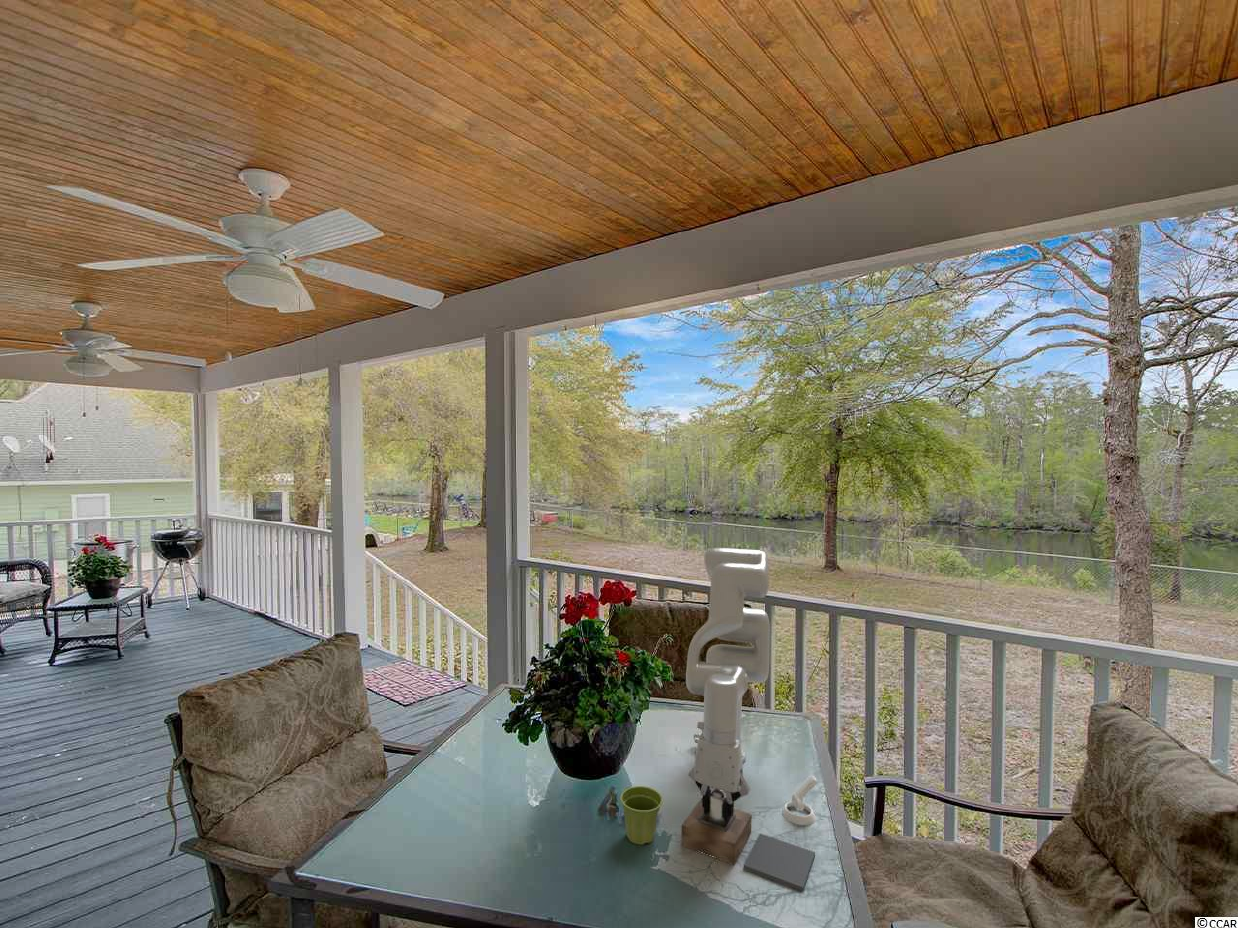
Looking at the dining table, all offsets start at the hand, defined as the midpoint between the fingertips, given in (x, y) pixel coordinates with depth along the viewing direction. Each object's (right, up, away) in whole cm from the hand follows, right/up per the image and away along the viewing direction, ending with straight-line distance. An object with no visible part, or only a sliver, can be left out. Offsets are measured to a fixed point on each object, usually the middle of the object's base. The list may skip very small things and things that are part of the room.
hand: (717, 813), depth 131 cm
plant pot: (-17, -6, 0) cm, 18 cm away
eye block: (0, -6, 0) cm, 6 cm away
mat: (+12, -6, -7) cm, 15 cm away
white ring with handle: (+21, -7, +10) cm, 24 cm away
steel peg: (0, -6, 0) cm, 6 cm away
